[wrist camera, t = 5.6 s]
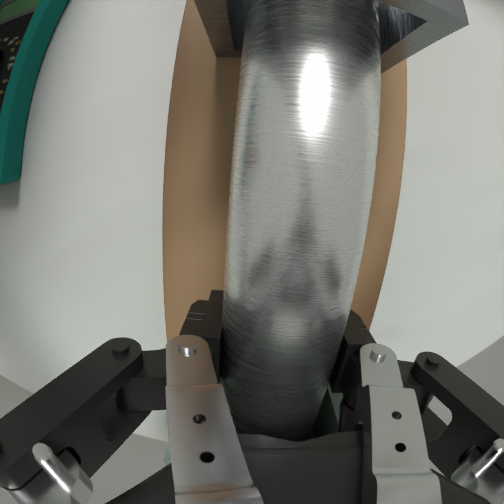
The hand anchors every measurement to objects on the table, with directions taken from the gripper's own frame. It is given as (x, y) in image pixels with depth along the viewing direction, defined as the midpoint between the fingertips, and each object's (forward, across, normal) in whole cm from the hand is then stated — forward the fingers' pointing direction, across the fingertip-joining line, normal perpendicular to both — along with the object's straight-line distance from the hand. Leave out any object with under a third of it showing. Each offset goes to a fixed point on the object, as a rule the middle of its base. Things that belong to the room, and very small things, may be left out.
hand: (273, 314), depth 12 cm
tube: (-1, 0, -5) cm, 5 cm away
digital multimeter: (+3, +18, -13) cm, 22 cm away
